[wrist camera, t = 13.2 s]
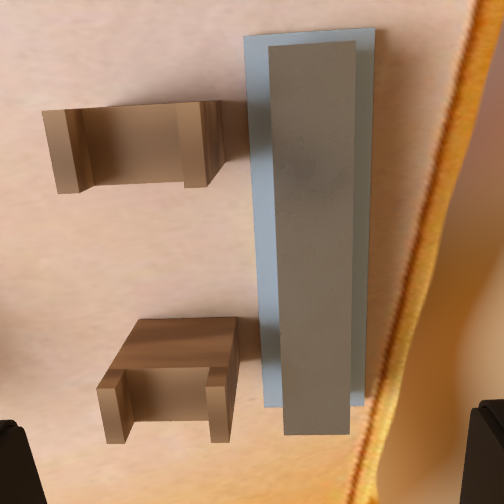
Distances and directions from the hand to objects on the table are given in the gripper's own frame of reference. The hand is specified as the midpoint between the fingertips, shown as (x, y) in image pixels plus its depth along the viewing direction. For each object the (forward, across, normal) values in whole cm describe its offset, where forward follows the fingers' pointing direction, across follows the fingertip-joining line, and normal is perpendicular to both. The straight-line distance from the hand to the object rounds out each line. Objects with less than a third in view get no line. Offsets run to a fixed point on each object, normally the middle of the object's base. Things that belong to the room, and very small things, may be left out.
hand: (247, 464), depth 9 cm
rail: (+19, -3, +2) cm, 19 cm away
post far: (+20, +5, +9) cm, 23 cm away
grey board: (+20, -3, +2) cm, 20 cm away
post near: (+20, +5, -5) cm, 22 cm away
